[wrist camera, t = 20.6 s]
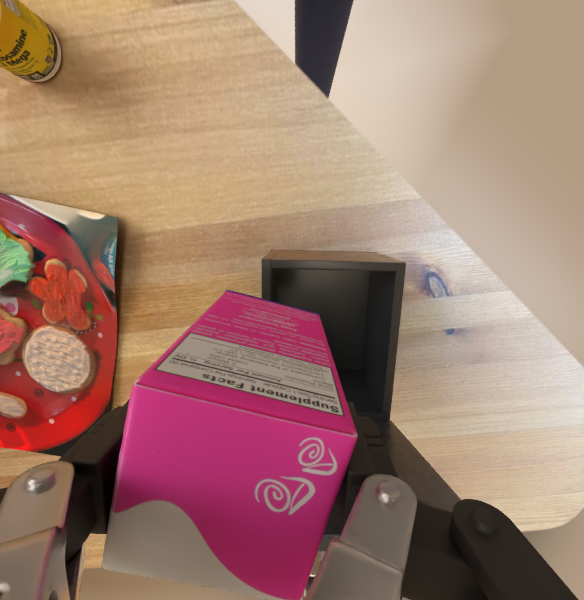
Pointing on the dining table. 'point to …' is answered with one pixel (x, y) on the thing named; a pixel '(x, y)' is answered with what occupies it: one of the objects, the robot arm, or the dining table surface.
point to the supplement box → (233, 454)
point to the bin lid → (408, 470)
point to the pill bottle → (27, 43)
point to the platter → (55, 323)
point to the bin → (347, 314)
